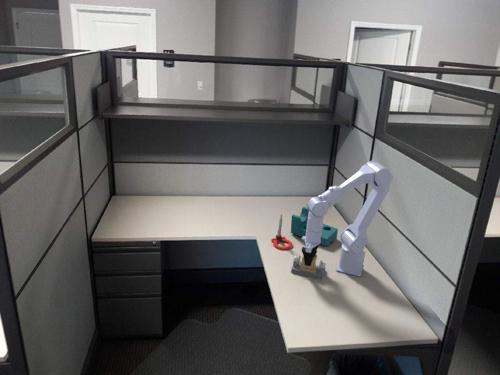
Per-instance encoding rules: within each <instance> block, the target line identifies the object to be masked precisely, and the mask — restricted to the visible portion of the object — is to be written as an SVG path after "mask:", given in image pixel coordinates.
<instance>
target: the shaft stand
mask: <svg viewBox="0 0 500 375" xmlns="http://www.w3.org/2000/svg"><path fill="white" fill-rule="evenodd" d="M301 259H302V256H301V255H300V254H299V255H294V257H293V263H292V267H291V270H290V272H291V273H293V274H297V275H301V276H305V277H309V278H314V279H317V280H321V281H323V278H324V275H325V272H326V266H327V264H326V262H323V260H320V261H319V264H316V267H315V269H314V271H310V270H306V269H302V268H301V264H302V260H301Z"/></svg>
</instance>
